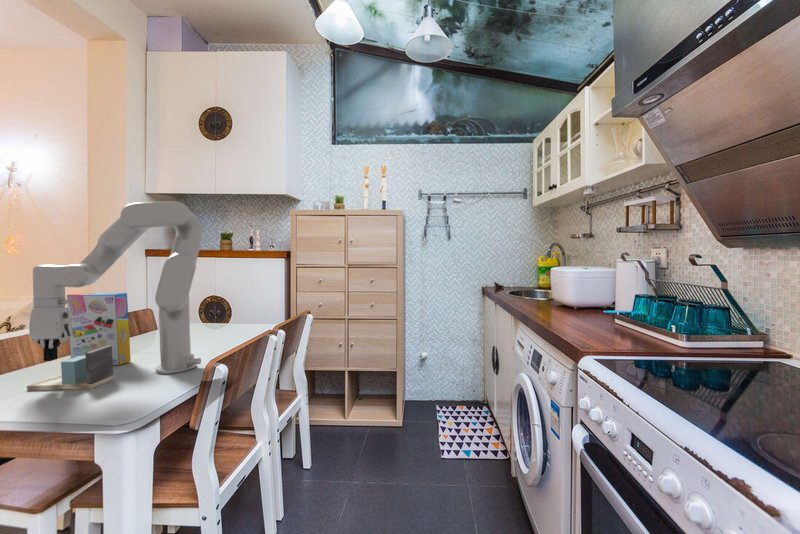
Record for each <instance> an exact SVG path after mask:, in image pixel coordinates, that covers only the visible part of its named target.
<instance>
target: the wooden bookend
mask: <svg viewBox="0 0 800 534" xmlns="http://www.w3.org/2000/svg"><path fill="white" fill-rule="evenodd" d="M86 373H87V379H85V380H83V381H81V382H78V383H76V384H62V375H53V376H50V377H47V378H45V379H42V380H38V381H36V382H33V383H31V384H28V385H26V391H27V390H28V391H61V390H60V389H75V390H93V388H94V389H95V387H96V388H98V387H100V386H102V385H104V384H107V383H109V382H111V381H113V380H114V365H113V358H112V346H105V347H102V348H99V349H96V350H93V351H90V352H87V353H86ZM112 379H113V380H112ZM110 380H111V381H110ZM108 381H109V382H108ZM106 382H107V383H106ZM103 383H104V384H103ZM101 384H102V385H101ZM99 385H100V386H99ZM97 386H98V387H97Z"/></svg>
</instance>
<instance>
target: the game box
mask: <svg viewBox="0 0 800 534" xmlns="http://www.w3.org/2000/svg"><path fill="white" fill-rule="evenodd" d="M66 300H67V301H68V303H67V304H66V305H67V307H68V309H69V312H70V316H71V323H72V335H71V336H69V350H70V359H72V358H75V357H78V356H86V353H87V352H90V351H93V350H96V349H99V348H102V347H105V346H112V358H113V366H121V365H124V364H127V363H129V362H131V361H132V360H131V342H130V325H129V323H130V321H129V306H128V305H129V304H128V303H129V302H128V292H112V293H111V292H106V293H105V292H104V293H103V292H101V293H99V292H95V293H74V294H73V293H72V294H66Z"/></svg>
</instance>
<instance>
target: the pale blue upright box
mask: <svg viewBox="0 0 800 534" xmlns="http://www.w3.org/2000/svg"><path fill="white" fill-rule="evenodd" d="M60 366H61V367H60V368H61V369H60V370H61V372H60V373H61V376H62V384H76V383H78V382H81V381H83V380H85V379H87V373H86V356H78V357H75V358H72V359H71V358H70V359H66V360H62V361H61V362H60Z"/></svg>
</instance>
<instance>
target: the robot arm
mask: <svg viewBox="0 0 800 534" xmlns="http://www.w3.org/2000/svg"><path fill="white" fill-rule="evenodd" d="M163 227H173V228H174V230H175V236H174V240H173V245H172V248H171V252H170V254H169V256H168V257H167V258H166V260H165V262H164V264H163V266H162V269H161V274H160V276H159V282H158V285H157V288H156V292H155V299H154V301H155V303H156V305H157V307H158V324H159V325H158V328H159V329H158V330H159V331H158V332H159V348H160V349H159V351H160V353H159V354H160V355H159V356H160V365H159V366H157V367H156V368H155V372H156V373H157V374H162V375H165V374H166V375H167V374H169V375H170V374H176V373H183V372H187V371H189V370H192V369H194V368H196V366H197V365H201V363H202V357H195V356H194V355H195V353H192V351H191V349H192V348H191V328H190V327H191V321H190V317H191V316H190V292H191V291H190V290H191V288H192V284H193V281H194V277H195V272H196V269H197V260H198V256H199V252H200V247H201V243H202V237H203V229H202V225H201V223H200V221H199V219H198V217H197V216H196V215H195V214H194V213H193V212H192V211H191V210H190V209H189V208H188V206H187V205H186V204H185V203H183V202H180V201H177V200H168V201H167V200H166V201H165V200H164V201H162V200H161V201H151V202H148V201H146V202H133V203H128V204H126V205H125V206H124V207H123V208H122V209H121V211H120V216H119V217H118V218H117V219H116V220H115V221H114V222H113V223H112V224H111V225H110V226H108V228H106V229H105V230H104V231H103V232H102V233H101V234H100V235H99V237H98V239H97V242H96V243H97V244H96V245H95V247H94V248H93V250H91V252H90V253H89V254H87V256H86V257H85V258H83V260H82V261H80V262H79V263H75V264H68V265H60V264H38V265H35V266H34V267H33V268H32V298H33V299H32V302H33V303H32V304H33V308H31V312H30V317H29V325H28V326H29V327H28V330H29V333H28V334H29V336H30V338H31V342H33V343H37V344H38V345H39V346H40V349H42V350H43V362H51V361H55V360H58V358H59V357H58V348H59V347H60V346H61V344H62V343H66V342H70V336H71V335H72V323H71V316H70V312H69V309H68V306H66V305H67V303H68V301H67V299H66V287H67V288H83V287H86V286H90V285H93V284H94V283H95V282H97V280H99V279H100V278H101V277H102V276H103V275H104V274H105V273H106V272H107V271H108V270H109V269H110V268H112V266H113V265H114V264H115V263H116V262H117V260H119V258H121V257H122V256H123V254H124V253H126V251H127V250H128V249H129V248H130V247H131V246H132V245H133V244H134V243H135V242H136V241H137V240H138V239H139V238H140V237H141V236H142V235H143V234H144V233H145V232H146V231H148V230H149V229H150V228H163Z"/></svg>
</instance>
